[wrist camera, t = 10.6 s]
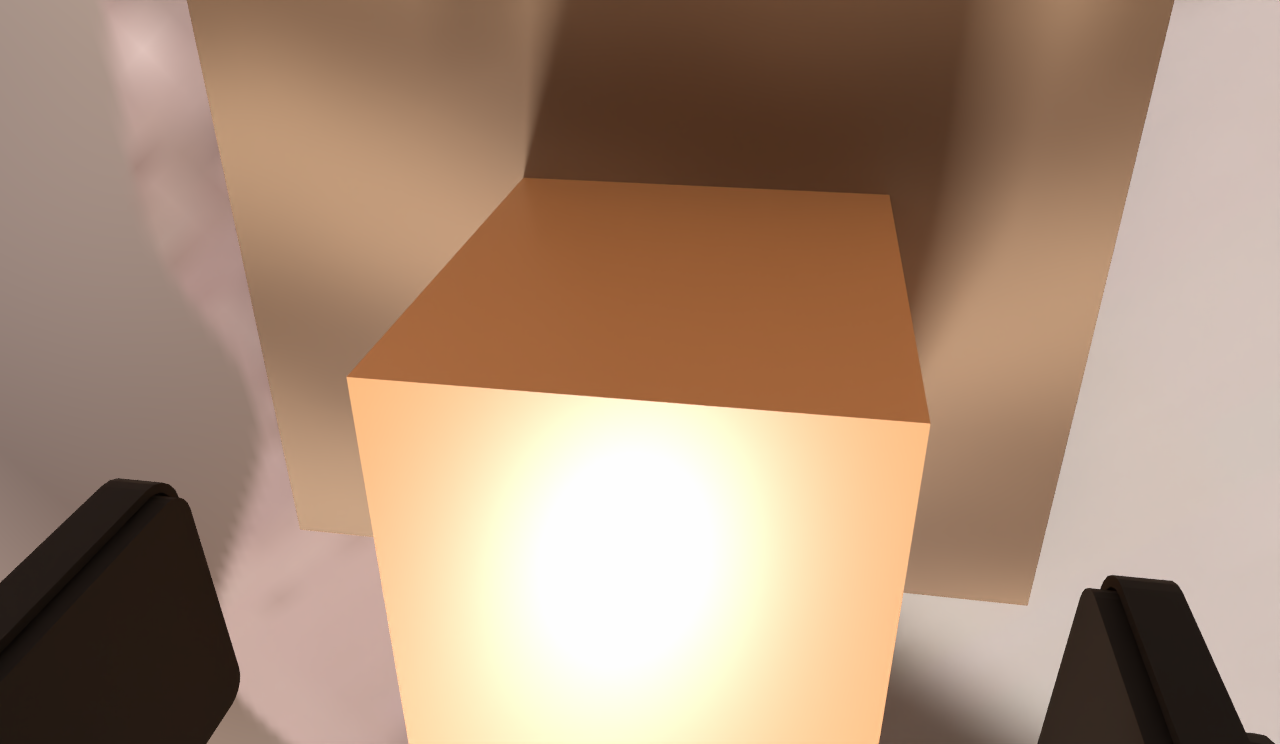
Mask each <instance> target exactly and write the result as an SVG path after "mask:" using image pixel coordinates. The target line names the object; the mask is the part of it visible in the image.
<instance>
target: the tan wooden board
mask: <svg viewBox="0 0 1280 744" xmlns="http://www.w3.org/2000/svg"><path fill="white" fill-rule="evenodd" d="M187 3H188V8H189V12H190V17H191V22H192V26H193V31H194V36H195V40H196V45H197V50H198V54H199V59H200V64H201V68H202V73H203V78H204V82H205V87H206V92H207V96H208V101H209V106H210V110H211V115H212V120H213V124H214V129H215V134H216V138H217V143H218V148H219V152H220V157H221V162H222V166H223V171H224V176H225V180H226V185H227V190H228V194H229V199H230V204H231V208H232V213H233V218H234V222H235V227H236V232H237V236H238V241H239V246H240V250H241V255H242V260H243V264H244V269H245V274H246V278H247V283H248V288H249V292H250V297H251V302H252V306H253V311H254V316H255V320H256V325H257V330H258V335H259V339H260V344H261V349H262V353H263V358H264V363H265V367H266V372H267V377H268V381H269V386H270V391H271V395H272V400H273V405H274V409H275V414H276V419H277V423H278V428H279V433H280V437H281V442H282V447H283V451H284V456H285V461H286V465H287V470H288V475H289V479H290V484H291V489H292V493H293V498H294V503H295V507H296V512H297V517H298V521H299V526H300V529H301V530H310V531H320V532H329V533H339V534H348V535H358V536H368V537H374V536H373V531H372V525H371V519H370V513H369V507H368V501H367V495H366V489H365V483H364V478H363V472H362V466H361V460H360V454H359V448H358V442H357V436H356V430H355V425H354V419H353V413H352V407H351V401H350V395H349V389H348V383H347V376H348V375H349V374H350V372H351V371H352V370H353V369H354V368H355V367H356V366H357V365H358V363H359V362H360V361H361V360H362V359H363V358H364V357H365V356H366V354H367V353H368V352H369V351H370V350H371V349H372V348H373V347H374V345H375V344H376V343H377V342H378V341H379V340H380V339H381V337H382V336H383V335H384V334H385V333H386V332H387V331H388V330H389V328H390V327H391V326H392V325H393V324H394V323H395V322H396V321H397V319H398V318H399V317H400V316H401V315H402V314H403V313H404V312H405V310H406V309H407V308H408V307H409V306H410V305H411V304H412V303H413V301H414V300H415V299H416V298H417V297H418V296H419V295H420V294H421V292H422V291H423V290H424V289H425V288H426V287H427V286H428V285H429V283H430V282H431V281H432V280H433V279H434V278H435V277H436V276H437V274H438V273H439V272H440V271H441V270H442V269H443V268H444V267H445V265H446V264H447V263H448V262H449V261H450V260H451V259H452V258H453V256H454V255H455V254H456V253H457V252H458V251H459V250H460V249H461V247H462V246H463V245H464V244H465V243H466V242H467V241H468V239H469V238H470V237H471V236H472V235H473V234H474V233H475V232H476V230H477V229H478V228H479V227H480V226H481V225H482V224H483V223H484V221H485V220H486V219H487V218H488V217H489V216H490V215H491V214H492V212H493V211H494V210H495V209H496V208H497V207H498V206H499V205H500V203H501V202H502V201H503V200H504V199H505V198H506V197H507V196H508V194H509V193H510V192H511V191H512V190H513V189H514V188H515V187H516V185H517V184H518V183H519V182H520V181H521V180H522V179H523V178H540V179H561V180H583V181H604V182H625V183H646V184H668V185H689V186H710V187H732V188H753V189H774V190H796V191H817V192H838V193H859V194H881V195H889V196H890V201H891V207H892V212H893V218H894V223H895V229H896V234H897V240H898V246H899V251H900V257H901V262H902V268H903V273H904V279H905V284H906V290H907V296H908V301H909V307H910V312H911V318H912V323H913V329H914V334H915V340H916V346H917V351H918V357H919V362H920V368H921V373H922V379H923V384H924V390H925V396H926V401H927V407H928V412H929V418H930V423H931V424H930V430H929V436H928V443H927V449H926V455H925V461H924V467H923V474H922V480H921V486H920V492H919V498H918V504H917V511H916V517H915V523H914V529H913V535H912V542H911V548H910V554H909V560H908V566H907V572H906V579H905V585H904V591H903V593H912V594H922V595H931V596H941V597H950V598H960V599H969V600H979V601H988V602H998V603H1008V604H1017V605H1028V601H1029V597H1030V593H1031V589H1032V585H1033V581H1034V576H1035V572H1036V568H1037V564H1038V560H1039V556H1040V552H1041V548H1042V543H1043V539H1044V535H1045V531H1046V527H1047V523H1048V519H1049V515H1050V510H1051V506H1052V502H1053V498H1054V494H1055V490H1056V486H1057V482H1058V478H1059V473H1060V469H1061V465H1062V461H1063V457H1064V453H1065V449H1066V445H1067V440H1068V436H1069V432H1070V428H1071V424H1072V420H1073V416H1074V412H1075V407H1076V403H1077V399H1078V395H1079V391H1080V387H1081V383H1082V379H1083V374H1084V370H1085V366H1086V362H1087V358H1088V354H1089V350H1090V346H1091V341H1092V337H1093V333H1094V329H1095V325H1096V321H1097V317H1098V313H1099V309H1100V304H1101V300H1102V296H1103V292H1104V288H1105V284H1106V280H1107V276H1108V271H1109V267H1110V263H1111V259H1112V255H1113V251H1114V247H1115V243H1116V238H1117V234H1118V230H1119V226H1120V222H1121V218H1122V214H1123V210H1124V205H1125V201H1126V197H1127V193H1128V189H1129V185H1130V181H1131V177H1132V173H1133V168H1134V164H1135V160H1136V156H1137V152H1138V148H1139V144H1140V140H1141V135H1142V131H1143V127H1144V123H1145V119H1146V115H1147V111H1148V107H1149V102H1150V98H1151V94H1152V90H1153V86H1154V82H1155V78H1156V74H1157V69H1158V65H1159V61H1160V57H1161V53H1162V49H1163V45H1164V41H1165V36H1166V32H1167V28H1168V24H1169V20H1170V16H1171V12H1172V8H1173V4H1174V0H187Z"/></svg>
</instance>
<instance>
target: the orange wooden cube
mask: <svg viewBox="0 0 1280 744" xmlns="http://www.w3.org/2000/svg"><path fill="white" fill-rule="evenodd" d="M347 383H348V389H349V395H350V401H351V407H352V413H353V419H354V425H355V430H356V436H357V442H358V448H359V454H360V460H361V466H362V472H363V478H364V483H365V489H366V495H367V501H368V507H369V513H370V519H371V525H372V531H373V536H374V542H375V548H376V554H377V560H378V566H379V572H380V578H381V584H382V589H383V595H384V601H385V607H386V613H387V619H388V625H389V631H390V637H391V642H392V648H393V654H394V660H395V666H396V672H397V678H398V684H399V690H400V695H401V701H402V707H403V713H404V719H405V725H406V731H407V737H408V743H409V744H879V739H880V733H881V727H882V721H883V715H884V708H885V702H886V696H887V690H888V684H889V678H890V671H891V665H892V659H893V653H894V647H895V640H896V634H897V628H898V622H899V616H900V610H901V603H902V597H903V591H904V585H905V579H906V572H907V566H908V560H909V554H910V548H911V542H912V535H913V529H914V523H915V517H916V511H917V504H918V498H919V492H920V486H921V480H922V474H923V467H924V461H925V455H926V449H927V443H928V436H929V430H930V424H931V423H930V418H929V412H928V407H927V401H926V396H925V390H924V384H923V379H922V373H921V368H920V362H919V357H918V351H917V346H916V340H915V334H914V329H913V323H912V318H911V312H910V307H909V301H908V296H907V290H906V284H905V279H904V273H903V268H902V262H901V257H900V251H899V246H898V240H897V234H896V229H895V223H894V218H893V212H892V207H891V201H890V196H889V195H881V194H859V193H838V192H817V191H796V190H774V189H753V188H732V187H710V186H689V185H668V184H646V183H625V182H604V181H583V180H561V179H540V178H523V179H522V180H521V181H520V182H519V183H518V184H517V185H516V187H515V188H514V189H513V190H512V191H511V192H510V193H509V194H508V196H507V197H506V198H505V199H504V200H503V201H502V202H501V203H500V205H499V206H498V207H497V208H496V209H495V210H494V211H493V212H492V214H491V215H490V216H489V217H488V218H487V219H486V220H485V221H484V223H483V224H482V225H481V226H480V227H479V228H478V229H477V230H476V232H475V233H474V234H473V235H472V236H471V237H470V238H469V239H468V241H467V242H466V243H465V244H464V245H463V246H462V247H461V249H460V250H459V251H458V252H457V253H456V254H455V255H454V256H453V258H452V259H451V260H450V261H449V262H448V263H447V264H446V265H445V267H444V268H443V269H442V270H441V271H440V272H439V273H438V274H437V276H436V277H435V278H434V279H433V280H432V281H431V282H430V283H429V285H428V286H427V287H426V288H425V289H424V290H423V291H422V292H421V294H420V295H419V296H418V297H417V298H416V299H415V300H414V301H413V303H412V304H411V305H410V306H409V307H408V308H407V309H406V310H405V312H404V313H403V314H402V315H401V316H400V317H399V318H398V319H397V321H396V322H395V323H394V324H393V325H392V326H391V327H390V328H389V330H388V331H387V332H386V333H385V334H384V335H383V336H382V337H381V339H380V340H379V341H378V342H377V343H376V344H375V345H374V347H373V348H372V349H371V350H370V351H369V352H368V353H367V354H366V356H365V357H364V358H363V359H362V360H361V361H360V362H359V363H358V365H357V366H356V367H355V368H354V369H353V370H352V371H351V372H350V374H349V375H348V376H347Z"/></svg>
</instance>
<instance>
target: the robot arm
mask: <svg viewBox="0 0 1280 744" xmlns="http://www.w3.org/2000/svg"><path fill="white" fill-rule="evenodd" d="M239 683H240V671H239V666H238V663H237V660H236V656H235V653H234V650H233V646H232V643H231V640H230V637H229V633H228V630H227V627H226V624H225V620H224V617H223V614H222V611H221V607H220V604H219V601H218V597H217V594H216V591H215V588H214V584H213V581H212V578H211V575H210V571H209V568H208V565H207V562H206V558H205V555H204V552H203V548H202V546H201V542H200V539H199V535H198V532H197V529H196V526H195V523H194V519H193V516H192V512H191V509H190V507H189V505H188V503H187V502H186V501H185V500H184V499H182V498H179V497H178V495H177V493H176V491H175V490H174V488H172V487H171V486H170V485H169V484H165V483H159V482H149V481H139V480H129V479H119V478H118V479H114V480H110V481H108V482H107V483H106V484H104V485H103V486H101V487H100V488H99V489H98V490H97V491H96V492H95V493H94V494H93V495H92V496H91V497H90V498H89V499H88V500H87V501H86V502H85V503H84V504H82V505H81V506H80V507H79V508H78V509H77V510H76V511H75V512H74V513H73V514H72V515H71V516H70V517H69V518H68V519H67V520H66V521H65V522H64V523H62V524H61V525H60V527H58V528H57V529H56V530H55V531H54V532H53V533H52V534H51V535H50V536H49V537H48V538H47V539H46V540H45V541H44V542H43V543H41V544H40V545H39V546H38V547H37V548H36V549H35V550H34V551H33V552H32V553H31V554H30V555H29V556H28V557H27V558H26V559H25V560H24V561H23V562H22V563H20V565H18V566H17V567H16V568H15V569H14V570H13V571H12V572H11V573H10V574H9V575H8V576H7V577H6V578H5V579H4V580H3V581H2V582H1V583H0V744H206V743H207V742H208V740H209V739H210V737H211V736H212V734H213V732H214V731H215V730H216V728H217V727H218V725H219V723H220V722H221V721H222V719H223V717H224V716H225V714H226V713H227V711H228V710H229V708H230V707H231V705H232V703H233V701H234V700H235V697H236V695H237V692H238V688H239ZM1038 744H1275V743H1274V742H1272V741H1271V740H1270V739H1269V738H1268V737H1267V736H1265V735H1260V734H1255V733H1246V732H1245V730H1244V728H1243V725H1242V723H1241V721H1240V719H1239V717H1238V714H1237V712H1236V710H1235V708H1234V705H1233V703H1232V701H1231V699H1230V697H1229V694H1228V692H1227V690H1226V688H1225V685H1224V683H1223V681H1222V679H1221V677H1220V674H1219V672H1218V670H1217V668H1216V665H1215V663H1214V661H1213V659H1212V657H1211V654H1210V652H1209V650H1208V648H1207V646H1206V643H1205V641H1204V639H1203V637H1202V634H1201V632H1200V630H1199V628H1198V626H1197V623H1196V621H1195V619H1194V617H1193V614H1192V612H1191V610H1190V608H1189V606H1188V603H1187V601H1186V599H1185V597H1184V594H1183V592H1182V591H1181V589H1180V588H1179V586H1178V585H1177V584H1176V583H1174V582H1173V581H1167V580H1157V579H1146V578H1136V577H1126V576H1115V575H1111V576H1108V577H1107V578H1106V579H1105V580H1104V582H1103V584H1102V586H1101V589H1092V588H1087V589H1085V590H1084V591H1083V592H1082V595H1081V597H1080V600H1079V603H1078V607H1077V610H1076V614H1075V617H1074V621H1073V624H1072V627H1071V631H1070V634H1069V638H1068V641H1067V645H1066V648H1065V651H1064V655H1063V658H1062V662H1061V665H1060V668H1059V672H1058V675H1057V679H1056V682H1055V686H1054V689H1053V692H1052V696H1051V699H1050V703H1049V706H1048V710H1047V713H1046V716H1045V720H1044V723H1043V727H1042V730H1041V734H1040V737H1039V740H1038Z"/></svg>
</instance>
